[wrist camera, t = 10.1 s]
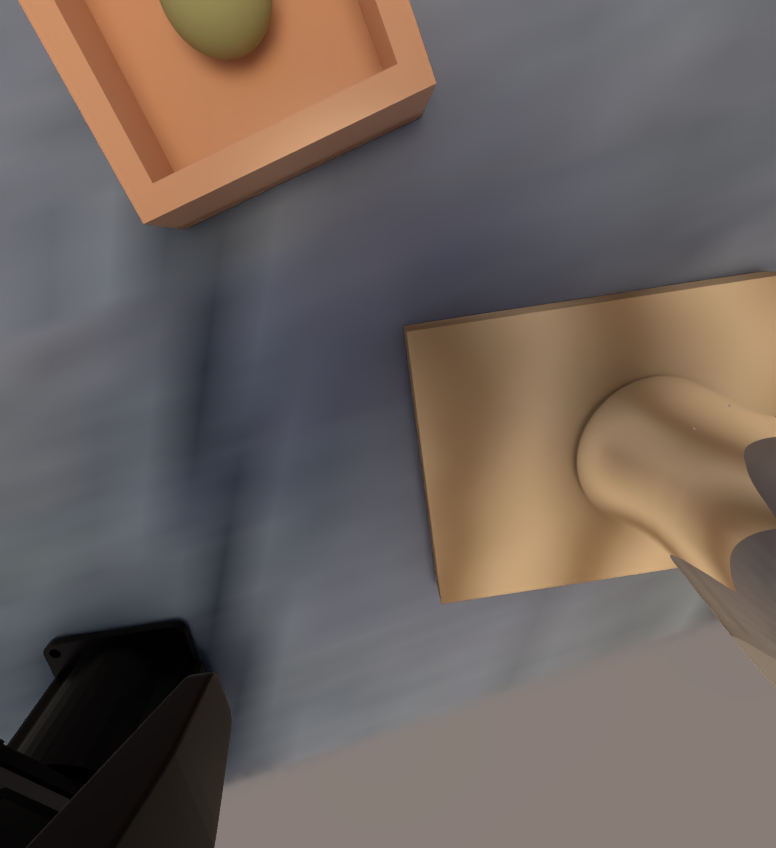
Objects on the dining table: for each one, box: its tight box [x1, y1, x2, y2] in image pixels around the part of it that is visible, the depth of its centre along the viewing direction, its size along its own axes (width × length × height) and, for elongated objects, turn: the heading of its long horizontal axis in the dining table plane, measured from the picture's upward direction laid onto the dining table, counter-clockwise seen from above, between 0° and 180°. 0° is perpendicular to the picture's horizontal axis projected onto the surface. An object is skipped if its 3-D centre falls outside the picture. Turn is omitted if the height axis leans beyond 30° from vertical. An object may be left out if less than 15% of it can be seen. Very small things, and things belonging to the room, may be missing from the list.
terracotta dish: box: [18, 0, 436, 229], centre depth 14 cm, size 9×9×4 cm
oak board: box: [403, 271, 776, 604], centre depth 20 cm, size 14×12×2 cm
